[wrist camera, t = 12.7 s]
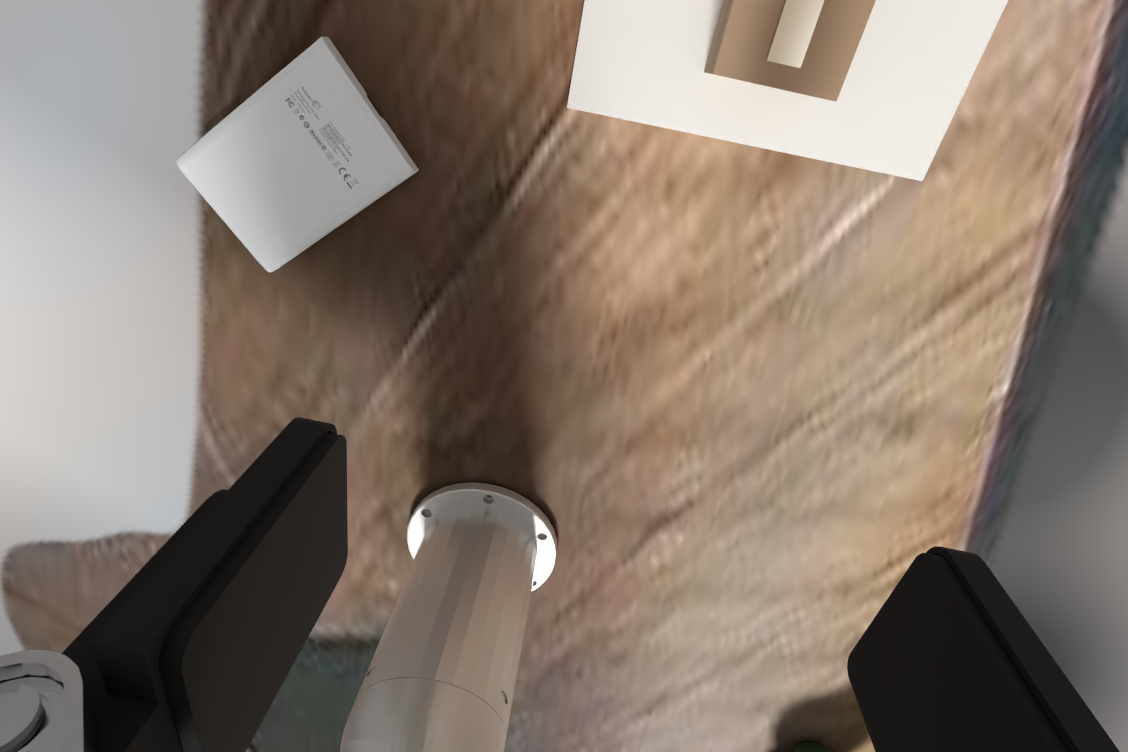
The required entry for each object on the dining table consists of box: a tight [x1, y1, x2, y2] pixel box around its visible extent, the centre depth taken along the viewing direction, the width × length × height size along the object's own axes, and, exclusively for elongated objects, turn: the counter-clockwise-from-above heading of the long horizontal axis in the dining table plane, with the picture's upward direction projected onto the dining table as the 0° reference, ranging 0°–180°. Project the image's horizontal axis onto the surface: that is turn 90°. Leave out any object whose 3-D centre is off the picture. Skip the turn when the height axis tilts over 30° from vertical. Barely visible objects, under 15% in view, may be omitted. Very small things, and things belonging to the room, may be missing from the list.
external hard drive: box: [176, 37, 419, 272], centre depth 35 cm, size 2×8×12 cm
